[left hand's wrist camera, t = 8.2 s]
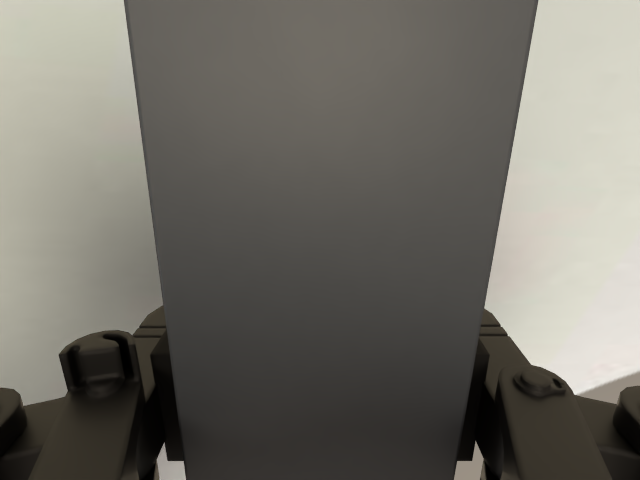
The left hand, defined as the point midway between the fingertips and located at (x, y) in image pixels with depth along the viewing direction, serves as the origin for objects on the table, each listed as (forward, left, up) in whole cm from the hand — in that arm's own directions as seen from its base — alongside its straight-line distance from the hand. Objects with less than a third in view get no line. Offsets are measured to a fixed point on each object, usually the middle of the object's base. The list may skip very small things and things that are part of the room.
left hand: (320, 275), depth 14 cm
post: (+11, +18, 0) cm, 21 cm away
